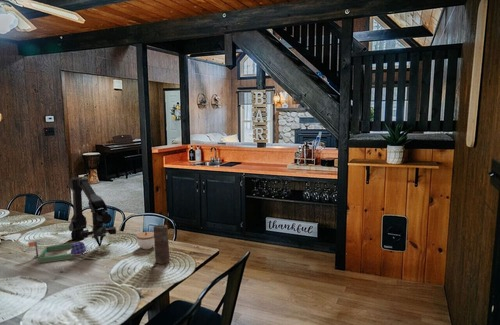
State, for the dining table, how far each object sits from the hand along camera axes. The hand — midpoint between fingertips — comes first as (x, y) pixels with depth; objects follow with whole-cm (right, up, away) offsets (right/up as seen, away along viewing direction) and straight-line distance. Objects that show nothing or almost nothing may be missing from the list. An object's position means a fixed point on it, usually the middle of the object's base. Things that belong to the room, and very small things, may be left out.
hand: (99, 246), depth 202 cm
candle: (+41, -4, -18) cm, 45 cm away
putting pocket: (-23, -3, -9) cm, 25 cm away
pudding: (-11, -3, -4) cm, 11 cm away
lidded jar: (+27, -1, +2) cm, 27 cm away
